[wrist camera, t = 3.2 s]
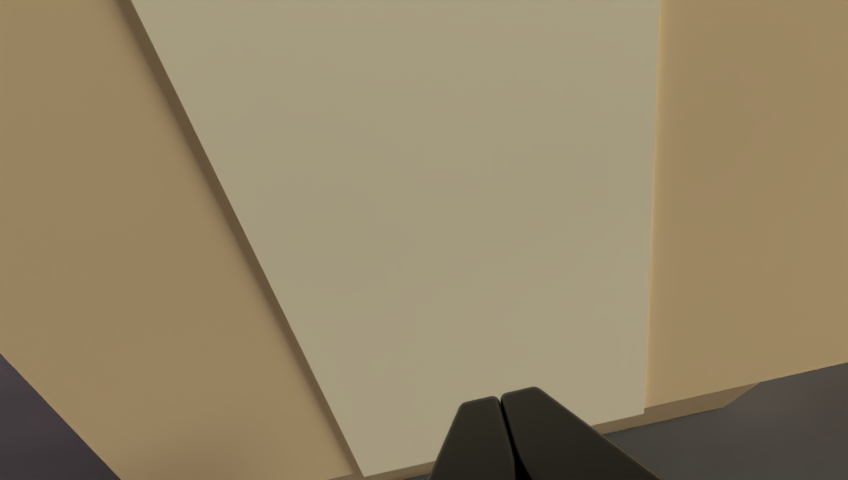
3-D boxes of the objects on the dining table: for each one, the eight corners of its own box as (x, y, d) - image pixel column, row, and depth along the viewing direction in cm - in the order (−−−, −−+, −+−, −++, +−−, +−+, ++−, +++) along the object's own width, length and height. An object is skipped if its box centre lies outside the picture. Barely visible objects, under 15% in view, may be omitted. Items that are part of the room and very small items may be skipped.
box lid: (790, 260, 15) (856, 365, 13) (167, 403, 15) (157, 523, 14) (951, -451, 8) (1145, -418, 6) (-253, -152, 8) (-387, -39, 6)
